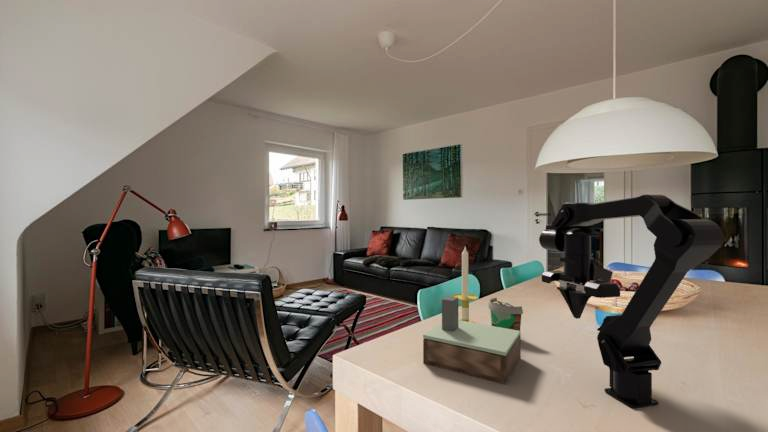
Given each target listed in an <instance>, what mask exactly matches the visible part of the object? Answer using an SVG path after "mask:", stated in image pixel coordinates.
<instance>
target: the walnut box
mask: <svg viewBox="0 0 768 432" xmlns="http://www.w3.org/2000/svg"><path fill="white" fill-rule="evenodd" d="M521 338H522V337H521V334H520V335H519V337H518V338H517V340H516V341H515V343H514V344H513V346H512V347H511V349H510V350H509V352H508V353H507V355H506V356H504V355H499V354H495V353H490V352H485V351H481V350H476V349H472V348H467V347H462V346H458V345H453V344H449V343H444V342H439V341H435V340H430V339H426V338H423V339H422V343H423V347H422V348H423V349H422V351H423V354H422V357H423V359H422V364H426V365H428V366H429V365H430V366H433V367H437V368H440V369H444V370H449V371H451V372H456V373H459V374H463V375H467V376H472V377H476V378H479V379H483V380H487V381H491V382H494V383H498V384H502V385H507V384H508V381H509V380H510V378H511V377H512V374H513V373H514V371H515V369H516V368H517V365H518V364H519V362H520V360H521V359H522V358H521V356H522V355H521V354H522V353H521V350H522V349H521V347H522V346H521V345H522V343H521V341H522V340H521Z"/></svg>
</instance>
